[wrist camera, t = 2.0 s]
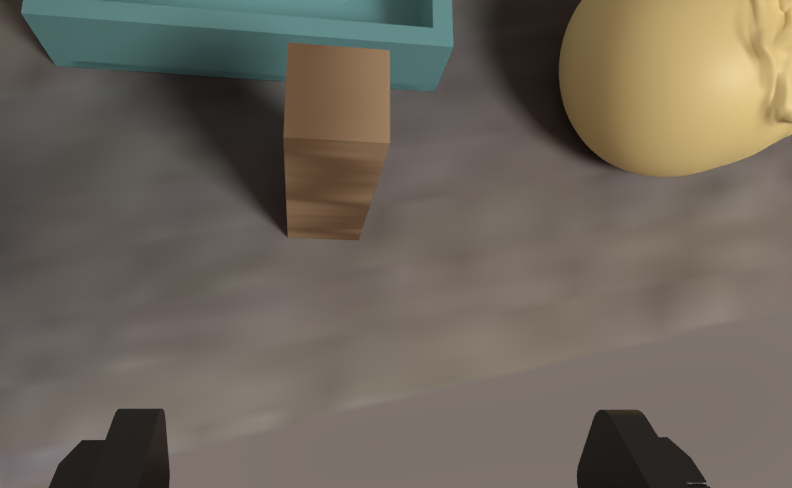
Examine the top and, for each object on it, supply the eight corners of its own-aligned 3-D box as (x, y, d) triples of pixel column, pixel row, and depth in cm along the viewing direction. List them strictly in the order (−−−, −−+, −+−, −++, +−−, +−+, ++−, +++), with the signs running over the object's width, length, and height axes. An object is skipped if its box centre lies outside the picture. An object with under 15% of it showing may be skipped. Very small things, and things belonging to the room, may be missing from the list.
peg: (359, 174, 35) (389, 50, 23) (358, 240, 34) (390, 143, 22) (290, 171, 34) (287, 42, 23) (287, 237, 33) (283, 137, 22)
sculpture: (757, 179, 38) (925, 88, 28) (569, 214, 36) (678, 129, 26) (692, 10, 41) (825, -129, 31) (514, 32, 39) (593, -111, 29)
